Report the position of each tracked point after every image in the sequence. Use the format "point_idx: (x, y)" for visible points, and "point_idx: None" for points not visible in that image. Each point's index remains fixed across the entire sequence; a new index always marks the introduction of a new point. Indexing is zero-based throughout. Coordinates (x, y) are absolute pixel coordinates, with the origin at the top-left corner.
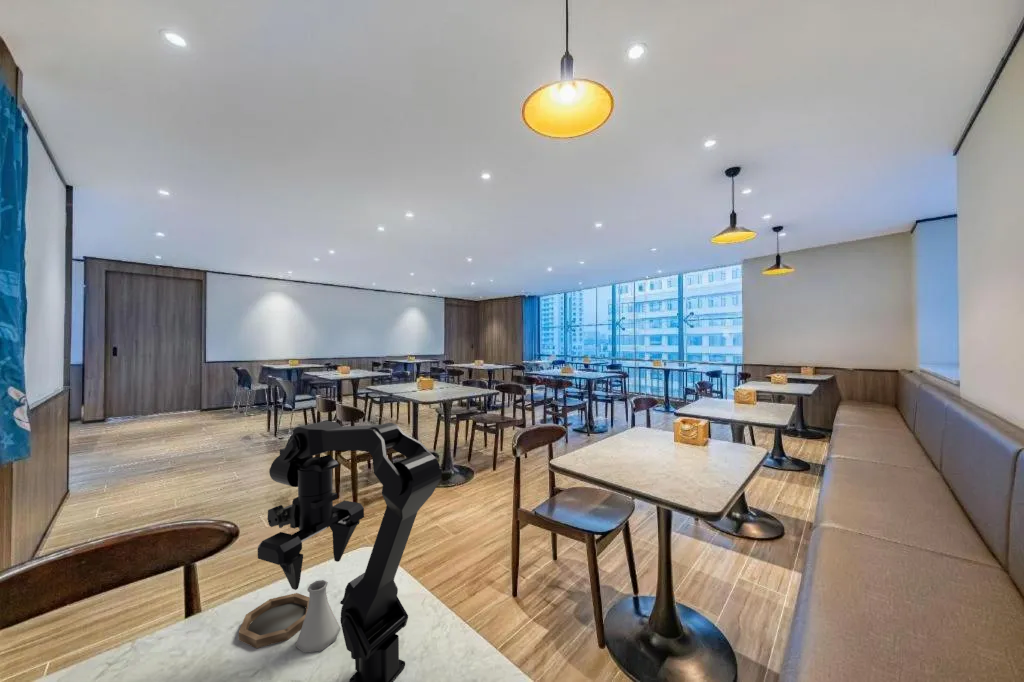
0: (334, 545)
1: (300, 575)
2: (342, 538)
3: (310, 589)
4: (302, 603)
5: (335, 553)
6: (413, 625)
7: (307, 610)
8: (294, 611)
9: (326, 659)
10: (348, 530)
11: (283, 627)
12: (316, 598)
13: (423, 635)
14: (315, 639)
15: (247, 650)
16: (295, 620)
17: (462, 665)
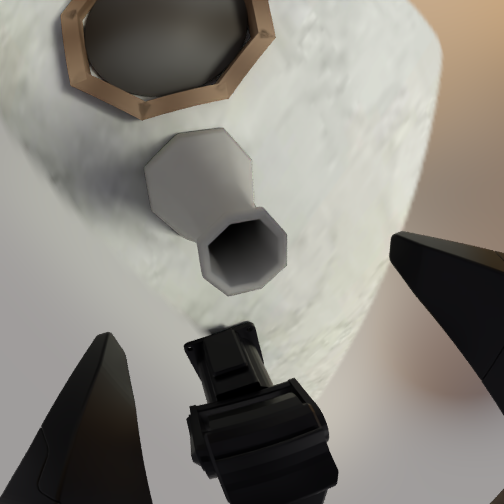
0: (463, 272)
1: (140, 451)
2: (483, 354)
3: (205, 262)
4: (249, 14)
5: (422, 265)
6: (332, 302)
7: (183, 204)
8: (217, 21)
9: (179, 265)
10: (501, 408)
11: (158, 62)
12: (214, 259)
13: (320, 330)
14: (177, 230)
15: (61, 78)
16: (195, 61)
17: None
